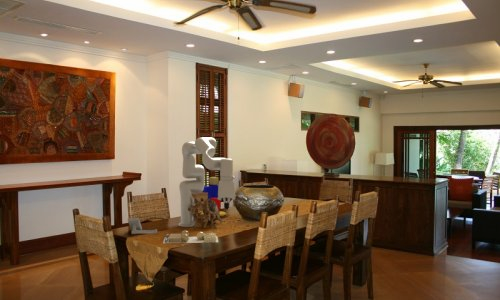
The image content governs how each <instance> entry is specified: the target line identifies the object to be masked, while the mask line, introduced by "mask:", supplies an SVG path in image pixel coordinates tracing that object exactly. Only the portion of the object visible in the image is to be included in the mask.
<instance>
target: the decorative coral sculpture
mask: <svg viewBox="0 0 500 300" xmlns="http://www.w3.org/2000/svg"><path fill="white" fill-rule="evenodd" d="M209 200H210V199H208V198H207V199H205V200H204V198H203V197H200V200H197V198H194V206H191V208H193V209H191V208H190V207H189V208H188V211H189V212H190V211H192V216H194V218H193V220H194V222H195V224H194V226H193V228H197V226H199V227H202V224H201V222H204V224H203V228H204V229H205V228H206V226H207V224H208V223H210V225H209V227H213V228H214V229H216V228H217V225H215V224H214V223H215V222H216V220H218V221H219V222H220V224H222V223H224V219H221V217H220V214H219V211H218V207H217V205H216V203H215V201H213V200H210V201H209ZM201 206H202V207H201ZM199 207H201V208H202V212H203V213H204V214H202V215H200V213H199ZM199 220H200V222H199Z"/></svg>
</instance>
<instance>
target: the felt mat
mask: <svg viewBox="0 0 500 300" xmlns="http://www.w3.org/2000/svg"><path fill="white" fill-rule="evenodd" d="M165 239H166V236H165V237H164V238H163V241H162V243H163V244H170V243H169V237H168V239H167V242H166V243H165ZM189 243H190V244H192V243H193V244H194V243H195V244H197V243H205V242H204V238H203V239H202V240H198V239H197V236H189V239H188V241H187V242H182V241H181V242H173V243H172V244H189ZM215 243H219V238H218V236H217V235H216V242H215Z"/></svg>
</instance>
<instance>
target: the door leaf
mask: <svg viewBox="0 0 500 300" xmlns="http://www.w3.org/2000/svg"><path fill="white" fill-rule="evenodd" d="M216 236H217V235H216V232H203V231H198V232H197V233H196V237H197V239H198V240H202V239H203V238H204V243H217V242H216Z"/></svg>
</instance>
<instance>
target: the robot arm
mask: <svg viewBox="0 0 500 300" xmlns="http://www.w3.org/2000/svg"><path fill="white" fill-rule="evenodd" d="M217 145H218V143H217V140H216V139H215V138H214V137H207V136H206V137H204V136H202V137H198V138H196V140H195V141H187V142H186V141H185V142H184V143H183V144H182V147H181V153H182V171H181V172H182V178H185V180H183V181H181V182H180V183H179V185H178V186H179V189H178V190H179V195H180V222H179V223H178V224H177V225H178V226H179V227H183V228H189V227H194V224H195V220H193V218H195V215H194V216H192V211H190V212H189V211H188V208H189V207H190V208H191V206H195V203H194V201H195V198H194V197H193V195H192V194H201V193H203V192H202V191H203V189H204V186H205V178H206V177H205V176H206V170H205V168H206V169H208V170H209V171H220V172H219V173H220V174H219V176H220V177H219V179H220V180H218V200H221V202H223V208H224V209H225V210H226V211H228V210H229V209H230V203H231V201H235V200H236V188H235V187H236V186H235V181H234V180H236V177H235V176H234V172H233V170H234V167H233V166H234V165H233V163H234V162H233V159H232V158H226V157H214V156H215V155H216V148H217ZM195 155H202V156H201V159H202V160H201V161H202V164H203V165H202V164H196V157H195ZM186 179H188V180H186ZM191 209H193V208H191Z"/></svg>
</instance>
